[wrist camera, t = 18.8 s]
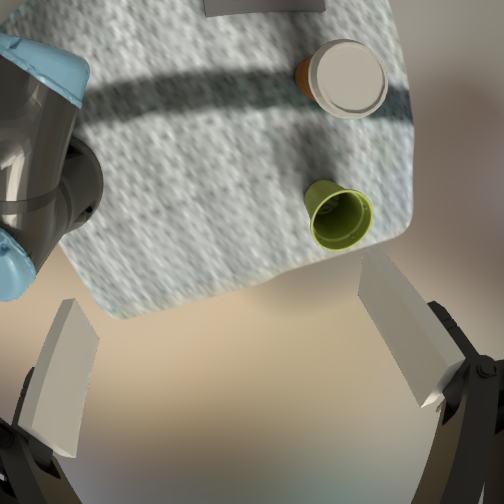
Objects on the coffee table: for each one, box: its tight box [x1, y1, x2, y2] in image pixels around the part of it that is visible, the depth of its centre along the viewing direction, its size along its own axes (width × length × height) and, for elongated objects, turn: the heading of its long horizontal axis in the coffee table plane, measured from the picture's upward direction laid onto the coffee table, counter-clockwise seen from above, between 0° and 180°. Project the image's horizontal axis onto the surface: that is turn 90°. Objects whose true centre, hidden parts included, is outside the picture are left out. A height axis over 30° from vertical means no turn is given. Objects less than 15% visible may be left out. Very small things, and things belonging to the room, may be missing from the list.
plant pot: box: [304, 180, 373, 251], centre depth 42 cm, size 9×9×9 cm
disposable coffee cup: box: [295, 39, 388, 120], centre depth 30 cm, size 10×10×12 cm
